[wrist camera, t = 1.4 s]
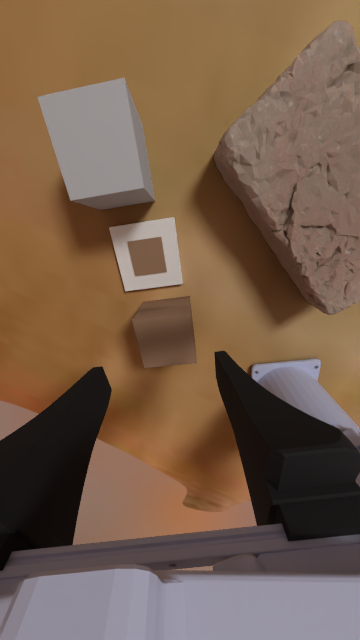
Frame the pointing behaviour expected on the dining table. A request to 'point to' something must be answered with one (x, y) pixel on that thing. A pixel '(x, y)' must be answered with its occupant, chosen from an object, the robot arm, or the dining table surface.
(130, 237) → the card
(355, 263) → the brick
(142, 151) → the grey block
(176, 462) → the dining table surface
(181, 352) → the walnut block
